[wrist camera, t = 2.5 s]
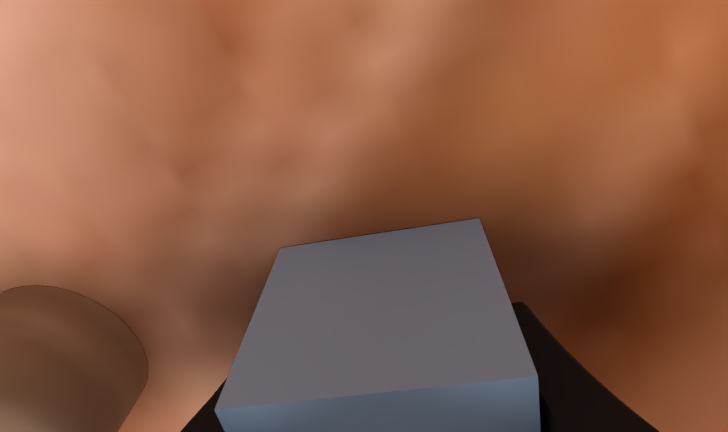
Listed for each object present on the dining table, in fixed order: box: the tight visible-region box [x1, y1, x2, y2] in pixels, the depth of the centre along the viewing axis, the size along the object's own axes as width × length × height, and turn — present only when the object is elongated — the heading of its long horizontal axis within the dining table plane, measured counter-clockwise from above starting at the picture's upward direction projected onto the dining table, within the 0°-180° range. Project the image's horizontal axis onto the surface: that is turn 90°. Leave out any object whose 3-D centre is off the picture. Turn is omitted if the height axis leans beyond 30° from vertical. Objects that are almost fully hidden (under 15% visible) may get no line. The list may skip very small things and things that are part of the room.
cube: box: [214, 218, 541, 432], centre depth 10 cm, size 5×5×5 cm
